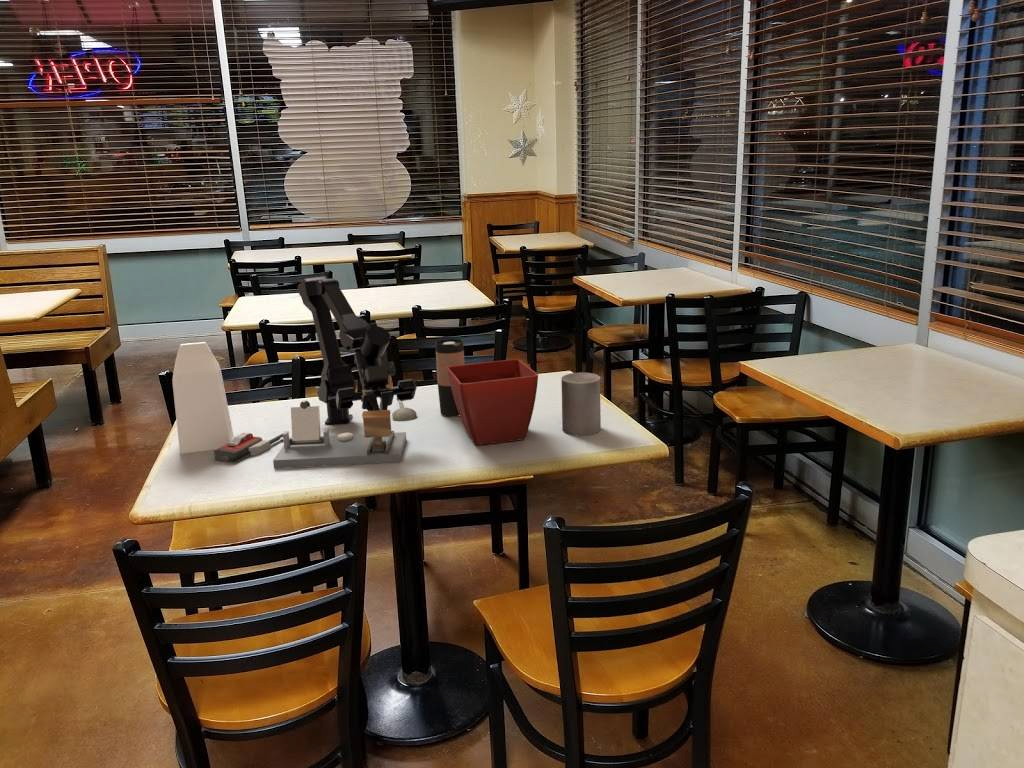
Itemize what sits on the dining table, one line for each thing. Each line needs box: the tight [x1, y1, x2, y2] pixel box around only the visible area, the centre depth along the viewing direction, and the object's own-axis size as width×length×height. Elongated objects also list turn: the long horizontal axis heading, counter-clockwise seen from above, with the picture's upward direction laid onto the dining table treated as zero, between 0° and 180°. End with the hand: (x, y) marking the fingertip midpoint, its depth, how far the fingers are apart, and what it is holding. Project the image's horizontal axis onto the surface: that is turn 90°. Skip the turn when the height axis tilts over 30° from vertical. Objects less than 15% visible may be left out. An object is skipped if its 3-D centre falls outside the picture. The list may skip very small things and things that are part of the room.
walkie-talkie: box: [213, 432, 284, 464], centre depth 206 cm, size 9×4×20 cm
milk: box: [172, 341, 234, 454], centre depth 209 cm, size 12×12×26 cm
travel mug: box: [434, 338, 466, 418], centre depth 226 cm, size 8×8×20 cm
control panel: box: [272, 428, 407, 469], centre depth 200 cm, size 16×29×6 cm, turn 92°
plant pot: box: [447, 358, 539, 446], centre depth 206 cm, size 19×19×17 cm
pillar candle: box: [560, 372, 602, 437], centre depth 208 cm, size 10×10×15 cm
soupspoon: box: [391, 398, 418, 422], centre depth 233 cm, size 22×3×7 cm
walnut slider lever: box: [361, 409, 392, 452], centre depth 194 cm, size 4×6×9 cm, turn 92°
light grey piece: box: [289, 400, 324, 445], centre depth 200 cm, size 2×8×11 cm, turn 92°
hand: (384, 424), depth 196 cm, fingers closed
